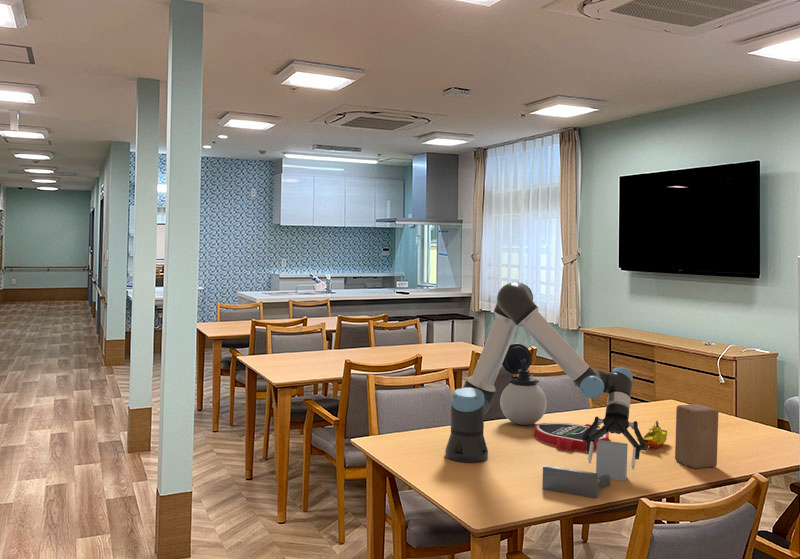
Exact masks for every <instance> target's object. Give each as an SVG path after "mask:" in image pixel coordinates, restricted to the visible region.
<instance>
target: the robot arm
mask: <svg viewBox="0 0 800 559" xmlns="http://www.w3.org/2000/svg"><path fill="white" fill-rule="evenodd" d="M533 294H534V293H533V292H532V290H531V288H530V287H529V286H528V285H527V284H525V283H523V282H520V281H512V282H510V283H506V284H504V285H503V286H502V287H501V288H500V289H499V290H498V292H497V296H496V304H495V308H494V309H493V313H494V315H495V318H494V320H493V323H492V325H491V328H490V331H489V332H488V336H487V339H486V341H485V344H484V346H483V348H482V350H481V353H480V355H479V358H478V361H477V362H476V366H475V368H474V370H473V373H472V375H471V376H467V378H466V380H465V382H464V384H463V387H461V388H456V389H455V390H453V391H452V393H451V398H450V435H449V437H448V440H447V444H446V446H445V452H444V454H445V455H444V456H445V457H446V458H447V459H449V460H451V461H454V462H458V463H459V462H461V463H479V462H484V461H486V460H488V458H489V450H488V447H487V443H486V439H485V436H484V428H485V427H484V426H485V425H484V424H485V420H484V419H485V415H486V414H487V413H488V411H490V409H491V406H492V400H493V398H494V395H495V393H496V390H497V389H496V386H495V382H496V380H497V378H498V375H499V372H500V370H501V368H502V363H503V360H504V358H505V355H506V353H507V351H508V348H509V346H510V345H511V344H512V341H513V338H514V335H515V333H516V331H517V329H518V327H522V328H523V329H524V331H526V332H527V333H528V334H529V336H531V338H532V339H533V340H534V341H535V342H536V343H537V344H538V346H540V348H542V350H543V351H544V352H545V353H546V354H547V355H548V356H549V357H550V358H551V359H552V361H554V363H555V364H556V365H558V367H559V368H560V369H561V370H562V371H563V372H564V373H565V374H566V375H567V376H568V377H569V378H570V379H571V381H573V384H574V386H575V387H578V388H579V390H580V392H581V393H582V395H584V397H586V398H587V399H597V398H599V397H601V396H602V395H603V394H604V393H605V394H607V400H606V409H605V415H604V418H600V417H599V416H595V417H594V419H593V420H594V421H593V422H592V424H590V425H591V426H590V427H589V429H588V430H587V431H586V432H585V434H584V435H583V436H582V439H583V442H584V443H587V447H586V451H587V452H586V453H587V454H588V456H587V460H588V464H592V460H593V454H594V450H593V447H594V445H593V443H594V442H595V441H597V440H598V439H599V438H600V437H602V436H603V435H604V434H607V433H608V432H609V434H617V435H620V434H622V435H623V436H624V437H625V438H626V439H627V440H628V442H629V444H631V445H632V454H631V456H632V458H631V470H634V471H635V468H636V466H635V465H636V460H638V461H639V460H640V453H641V451H644V452H646V451H645V450H646V444H645V442H644V440H643V438H644V437H643V436H642V434H641V431H640V428H639V425H638V424H639V423H638V421H637V420H634V421H633V422H631V421H629V417H630V409H631V397H632V393H633V392H632V391H633V384H634V383H633V380H634V379H633V377H634V376H633V373H632V372H631V370H630V369H628V368H626V367H615V368H612V370H611V371H605V370H601V369H597V368H593V367H591V366H590V365H589V364H588V363H587V362H586V361H585V360H584V359H583V358H582V357H581V356H580V355H579V353H578V352H577V351H576V350H575V349H573V347H572V345H571V344H569V343H568V342H567V341H566V340H565V338H563V337H562V335H561V334H559V332H558V331H557V330H556V329H555V328H554V327H553V326H552V324H550V323H549V322H548V320H546V318H545V317H544V316H543V315H542V314H541V312H539V306H537V304H535V302H534V295H533ZM601 424H603V426H602V427H600V428H601V429H600V430H598V431H597V432H596V433H594V431H595V430H596V429H597V427H598V426H600V425H601ZM628 428H631V429H632V430H633V431H634V434H635V436H636V439H638V440H636V439H635V438H634V437H633V435H632V433H630V431H629V429H628ZM593 433H594V434H593ZM592 434H593V435H592ZM591 435H592V436H591ZM590 436H591V437H590ZM642 437H643V438H642Z"/></svg>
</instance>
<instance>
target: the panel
mask: <svg viewBox="0 0 800 559" xmlns="http://www.w3.org/2000/svg"><path fill="white" fill-rule="evenodd" d="M595 456H596V457H595V458H596V459H595V460H596V463H595V465H596V466H595V473H598V477H600V476H603V475H609V476H610V480H616V481H621V482H626V480H627V477H628V474H627V473H628V443H625V442H619V441H609V440H608V441H604V440H599V441H598V442H597V449H596V455H595Z"/></svg>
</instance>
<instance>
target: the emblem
mask: <svg viewBox="0 0 800 559" xmlns="http://www.w3.org/2000/svg"><path fill="white" fill-rule="evenodd" d="M591 425H592V424H590V423H586V424H584V425H582V424H577V423H569V422H568V423H567V422H544V423H537V424H535V423H534V427H533V428H534V434H533V436H534V437H535V438H536V439H537V438H538V439H539V440H538V439H537V440H538V441H540V440H541V441H540V442H542V441H543V443H545V442H546V443H545V444H547V443H549V444H548V445H551V444H553V445H552V446H555V445H556V449H557V448H559V449H558V450H565V451H567V450H568V451H569V452H572V451H573V450H575V449H577V450H576V451H580V450H582V452H585V451H586V447H587V443H584V442H583V439H582V436H583V435H584V434H585V432H586V431H587V430H588V429H589V427H590V426H591ZM601 428H602V427H601V426H600V425H598V427H597V429H596V430H595V431H594V433H596V432H597V431H598V430H600V429H601ZM594 433H593V434H594ZM593 434H592V435H593ZM609 434H610V432H608V433H607V434H604V435H603V436H602V437H600V438H599V439H598V440H597V441H595V442H594V443H593V445H594V447H593V451H595V449H596V450H597V442H598V441H599V440H604V441H609V438H610V435H609ZM592 435H591V436H592ZM591 436H590V437H591ZM571 450H572V451H571ZM568 451H567V452H568Z"/></svg>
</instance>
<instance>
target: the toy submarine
mask: <svg viewBox="0 0 800 559" xmlns="http://www.w3.org/2000/svg"><path fill="white" fill-rule="evenodd" d="M648 430H649V431H648V432H647V433H645V435H644V436H642V438H643V440H644V442H645V444H646V450H645V451H644V452H648V449H649V447H650V448H655V449H658V448H661V447H663V446H664V444H665V443H666V441H667V437H668V431H667V430H665V429H662V428H661V426H659V421H658V420H656V421H655V423H654V424H653V426H652V427H651V428H648ZM636 439H637V438H636ZM636 441H638V439H637V440H636Z"/></svg>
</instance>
